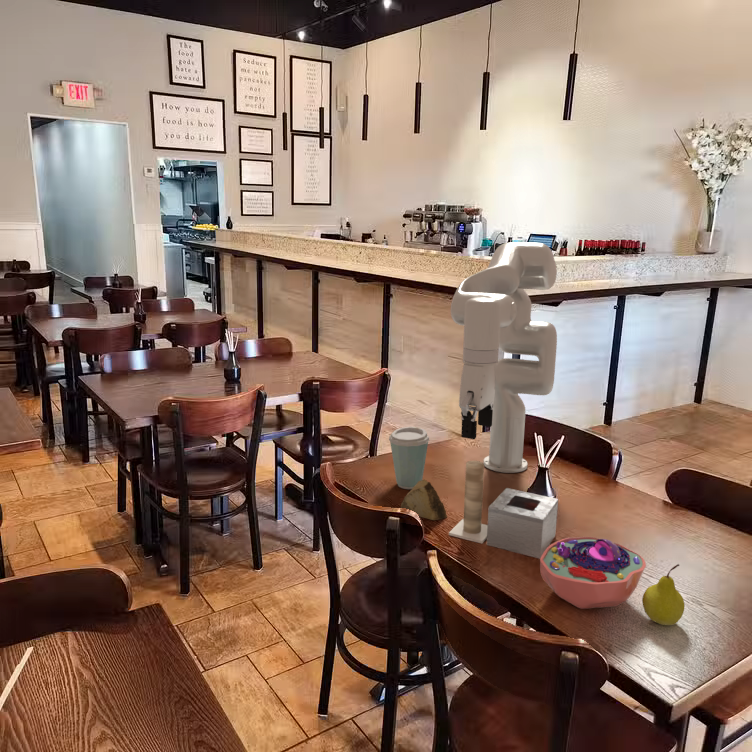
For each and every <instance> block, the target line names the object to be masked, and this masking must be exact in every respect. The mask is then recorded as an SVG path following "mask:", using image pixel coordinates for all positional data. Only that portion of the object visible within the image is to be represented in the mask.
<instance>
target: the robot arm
mask: <svg viewBox="0 0 752 752" xmlns="http://www.w3.org/2000/svg"><path fill="white" fill-rule="evenodd" d="M556 280H557V264H556V261H555V256H554V254H553V251H552V249H551V248H550V247H549V246H548V245H547V244H545V243H542V242H521V241H520V242H518V241H517V242H504V243H503V244H500V245H499V246H498V247H497V248H496V249H495V251H494V253H493V254H492V257H491V259H490V261H489V264H488V266H487V268H485V269H482V270H480V271H478V272H476V273H474V274H472V275H470V276H467V277H466V278H465V279H463V280H462V281H461V282H460V284H458V286H457V288H456V290H455V292H454V294H453V297H452V301H451V304H450V317H451V319H452V320H453V322H454V323H455V324H457V325H459V326H464V327H463V347H462V363H463V366H462V371H461V378H460V389H459V398H458V407H459V408H460V410H461V412H460V414H461V435H460V436H461V437H462V438H464V439H469V440H475V439H477V427H478V426H483V427H488V428H489V427H490V430H489V432H490V434H489V449H488V450H489V451H488V452H489V453H488V455H487V456H485V457H484V458H483V461H482V463H484V468H487V469H489V470H491V471H493V472H496V473H505V474H506V473H507V474H514V473H515V474H516V473H520V472H524V471H525V470H527V469H528V461H527V460H526V459H525V458H523V455H524V454H523V453H524V439H525V423H526V407H525V406H526V405H525V402H524V401H523V399H522V398H521V396H520V395H532V396H547V395H550V394H551V392H552V391H553V388H554V383H555V371H556V359H557V348H558V347H557V345H558V333H557V329H556V327H555V325H554V324H553V323H551V322H548V321H538V320H537V321H536V320H532V319H531V316H532V315H531V314H532V301H531V298H530V296H529V295H528V293H527V292H526V291H525V290H540V291H543V290H544V291H545V290H549V289H551V288H553V286H554V285H555V283H556ZM499 350H500V351H501V352H502V353H506V354H512V355H521V356H532V357H533V356H534V357H537V358H538V360H532V359H522V358H520V359H519V358H511V357H510V358H508V357H507V358H506V357H505V358H500V359H499ZM476 419H477V420H476Z"/></svg>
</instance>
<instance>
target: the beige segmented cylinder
mask: <svg viewBox="0 0 752 752" xmlns="http://www.w3.org/2000/svg"><path fill="white" fill-rule="evenodd" d="M484 472H485V466H484V463H483V461H479V460H469V461H467V462H465V478H464V479H465V481H464V482H465V483H464V507H463V519H464V526H463V530H464V531H465V532H467V533H470V534H476V533H479V532H481V524H482V518H483V517H482V516H483V515H482V513H483V497H484V496H483V495H484V478H485V477H484Z"/></svg>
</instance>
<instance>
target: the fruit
mask: <svg viewBox="0 0 752 752" xmlns="http://www.w3.org/2000/svg"><path fill="white" fill-rule="evenodd" d="M678 567H680V564H679V563H678V564H676V565H674V566H673V567H671V568H670V570H669V571H668V573H667V575H663V576H661V577H660V578H659V580H658V582H657V583H656V584H653V585H650V586H648V587H647V588H646V590H645V591H644V593H643V596H642V598H641V600H642V602H641V603H642V607H643V610H644V612H645V614H646V615H647V617H648V618H649V619H650V620H651V621H652V622H655V623H657V624H659V625H661V626H672V625H676V624H677V623H678V622H679V621H680V619H682V617H683V614H684V611H685V601H684V598H683V596H682V594H681V593H680V592H679V591H678V590H677V589H676V587H675V580H674V578H672V577H671V576H669V575H670V573H671V572H672V571H673V570H675V569H676V568H678Z"/></svg>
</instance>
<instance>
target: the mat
mask: <svg viewBox="0 0 752 752" xmlns="http://www.w3.org/2000/svg"><path fill="white" fill-rule="evenodd" d="M463 526H464V518H462V519H461V520H459V522H458V523H457V524H456V525H455V526H454V527H453V528H452V529H451V530H450V531H449V532H448V536H450V537H455V538H459V539H463V540H467V541H471V542H475V543H478V544H482V545H483V544H484V542H485V541H487V527H488V524H485V523H481V532H479V533H476V534H470V533H467V532H465V531H464V530H463Z"/></svg>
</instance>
